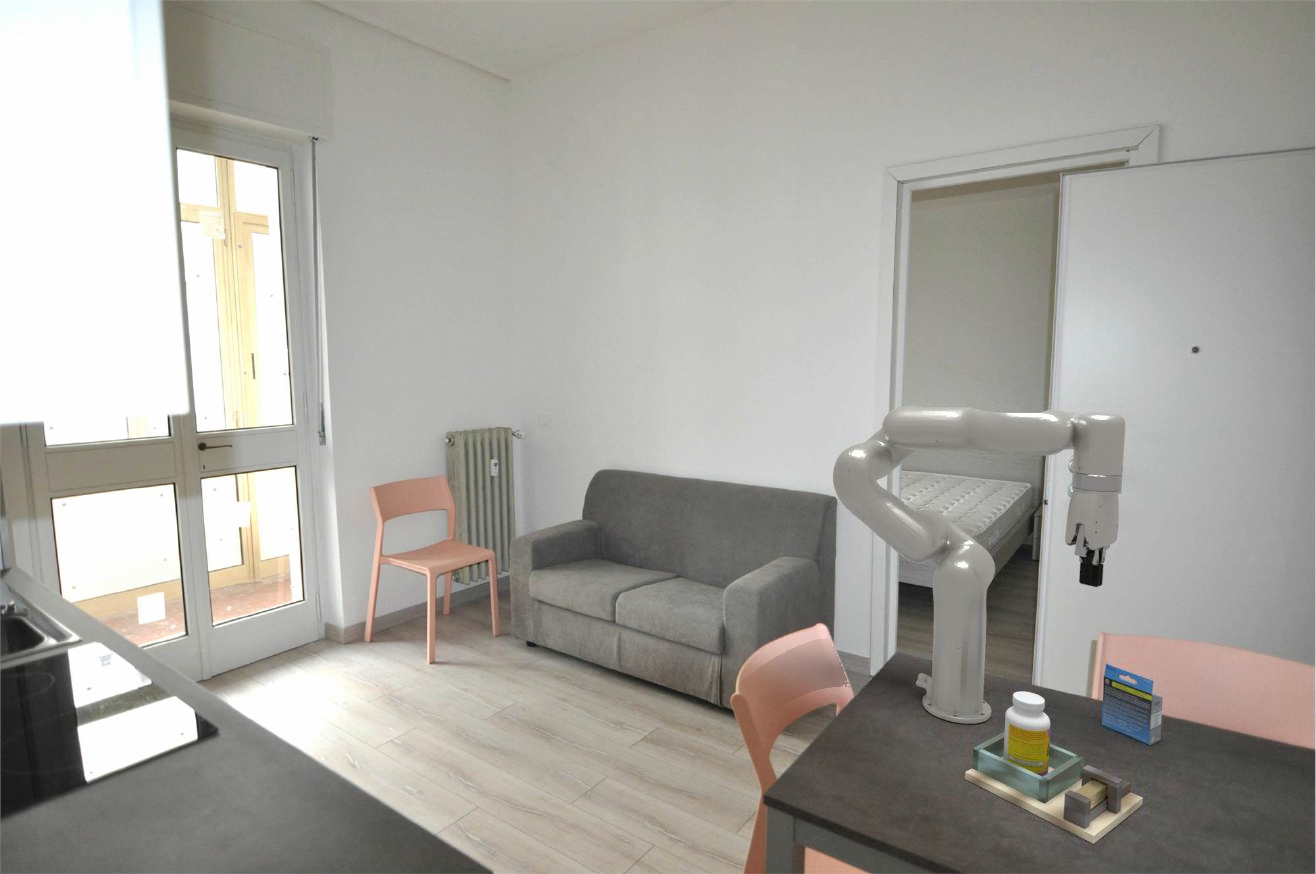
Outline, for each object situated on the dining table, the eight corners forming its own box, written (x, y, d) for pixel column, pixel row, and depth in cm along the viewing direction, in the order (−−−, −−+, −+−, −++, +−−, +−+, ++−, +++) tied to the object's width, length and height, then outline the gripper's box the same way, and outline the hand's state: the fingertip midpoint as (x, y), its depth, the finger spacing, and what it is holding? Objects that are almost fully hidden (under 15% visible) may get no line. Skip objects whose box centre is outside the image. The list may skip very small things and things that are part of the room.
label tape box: (1161, 741, 132) (1166, 676, 131) (1149, 746, 130) (1153, 680, 129) (1112, 720, 140) (1115, 658, 139) (1099, 725, 138) (1103, 662, 137)
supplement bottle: (1053, 785, 116) (1058, 708, 115) (1009, 781, 117) (1013, 705, 116) (1039, 763, 122) (1043, 690, 121) (998, 759, 124) (1001, 687, 122)
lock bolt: (1073, 804, 108) (1074, 791, 108) (1102, 784, 113) (1102, 772, 113) (1088, 811, 106) (1088, 798, 106) (1116, 790, 112) (1116, 778, 111)
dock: (964, 779, 120) (966, 743, 119) (1016, 749, 129) (1018, 716, 128) (1093, 843, 104) (1096, 803, 103) (1142, 804, 113) (1144, 767, 112)
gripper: (1093, 476, 135) (1088, 572, 137) (1053, 484, 127) (1048, 586, 128) (1138, 481, 129) (1132, 582, 131) (1099, 490, 120) (1093, 597, 122)
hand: (1090, 584), depth 130 cm, fingers closed
